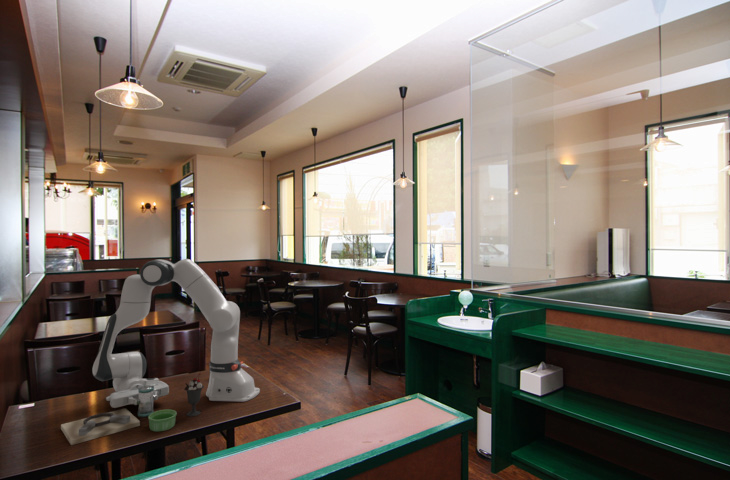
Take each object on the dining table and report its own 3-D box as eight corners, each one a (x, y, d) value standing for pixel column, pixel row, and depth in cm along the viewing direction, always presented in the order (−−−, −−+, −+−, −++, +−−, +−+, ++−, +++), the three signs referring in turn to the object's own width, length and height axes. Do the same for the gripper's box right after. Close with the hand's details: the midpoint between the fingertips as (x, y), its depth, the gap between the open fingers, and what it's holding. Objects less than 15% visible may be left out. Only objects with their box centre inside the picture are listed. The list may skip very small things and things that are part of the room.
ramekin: (156, 420, 148) (157, 408, 148) (181, 421, 148) (181, 409, 148) (142, 432, 139) (142, 419, 139) (168, 433, 139) (168, 420, 139)
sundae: (206, 411, 156) (207, 372, 156) (194, 418, 150) (195, 378, 150) (193, 409, 158) (194, 370, 158) (180, 415, 152) (181, 376, 152)
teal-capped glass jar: (156, 412, 155) (157, 386, 155) (146, 417, 150) (147, 390, 150) (144, 410, 156) (145, 384, 156) (134, 416, 151) (135, 389, 151)
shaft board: (125, 412, 154) (125, 402, 154) (139, 425, 143) (140, 415, 143) (60, 428, 140) (61, 418, 140) (71, 445, 129) (71, 434, 129)
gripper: (104, 389, 154) (115, 399, 145) (161, 376, 169) (174, 385, 160) (104, 405, 154) (115, 416, 145) (160, 392, 169) (174, 401, 160)
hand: (146, 400), depth 152 cm, fingers closed on teal-capped glass jar, 5 cm apart
